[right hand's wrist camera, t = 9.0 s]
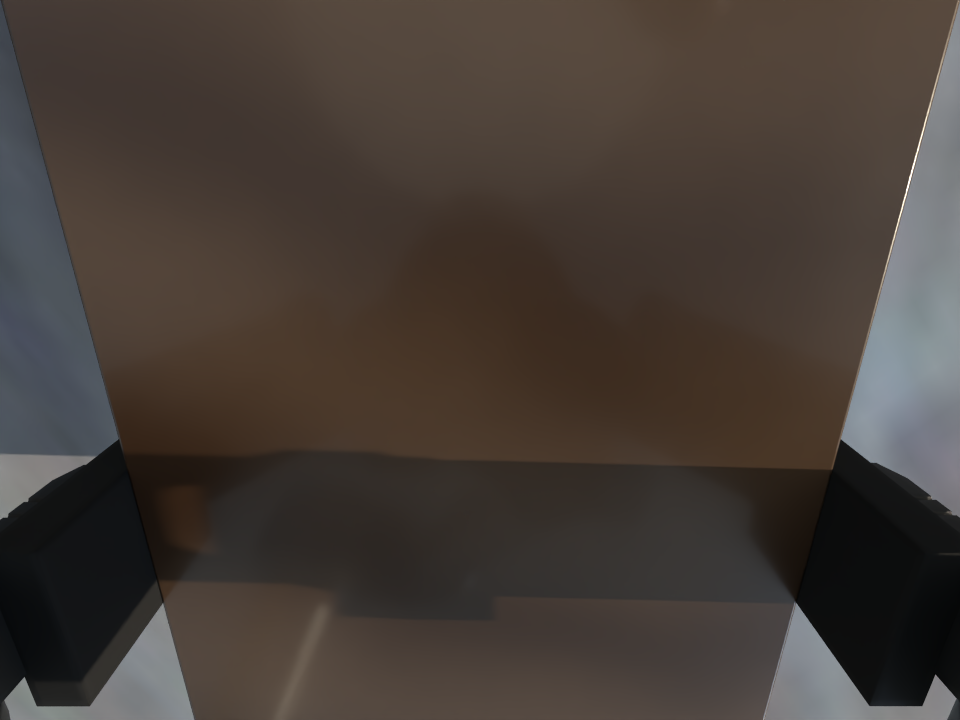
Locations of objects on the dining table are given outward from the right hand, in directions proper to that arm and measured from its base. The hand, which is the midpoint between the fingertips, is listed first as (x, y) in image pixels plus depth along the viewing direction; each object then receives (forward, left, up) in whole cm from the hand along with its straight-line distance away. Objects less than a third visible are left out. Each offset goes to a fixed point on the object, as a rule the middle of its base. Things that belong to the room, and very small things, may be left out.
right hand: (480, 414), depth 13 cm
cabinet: (+3, +5, -6) cm, 8 cm away
